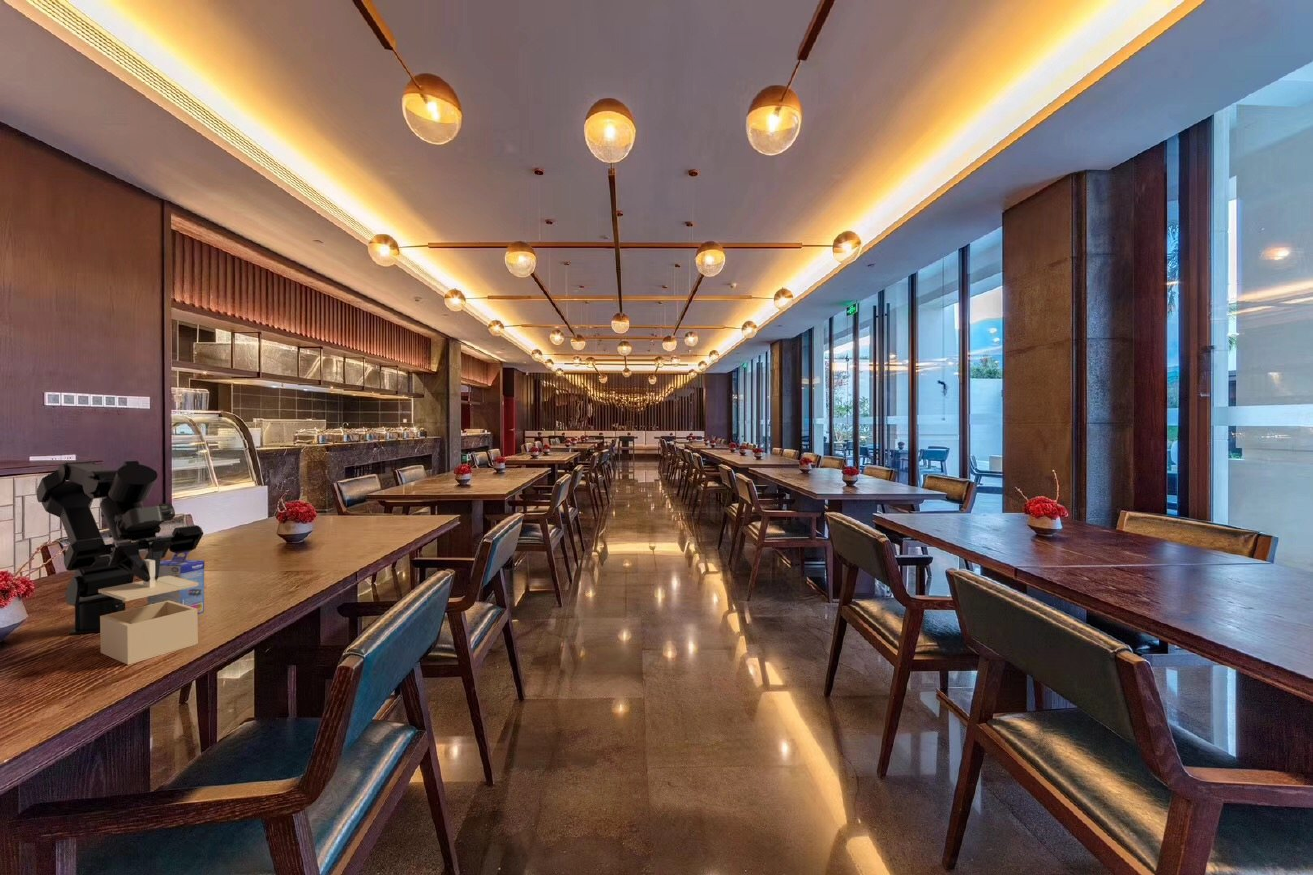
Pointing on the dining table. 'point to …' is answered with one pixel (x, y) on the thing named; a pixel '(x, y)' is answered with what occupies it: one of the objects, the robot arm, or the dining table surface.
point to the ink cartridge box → (183, 570)
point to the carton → (148, 631)
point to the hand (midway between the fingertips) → (152, 579)
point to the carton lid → (147, 585)
